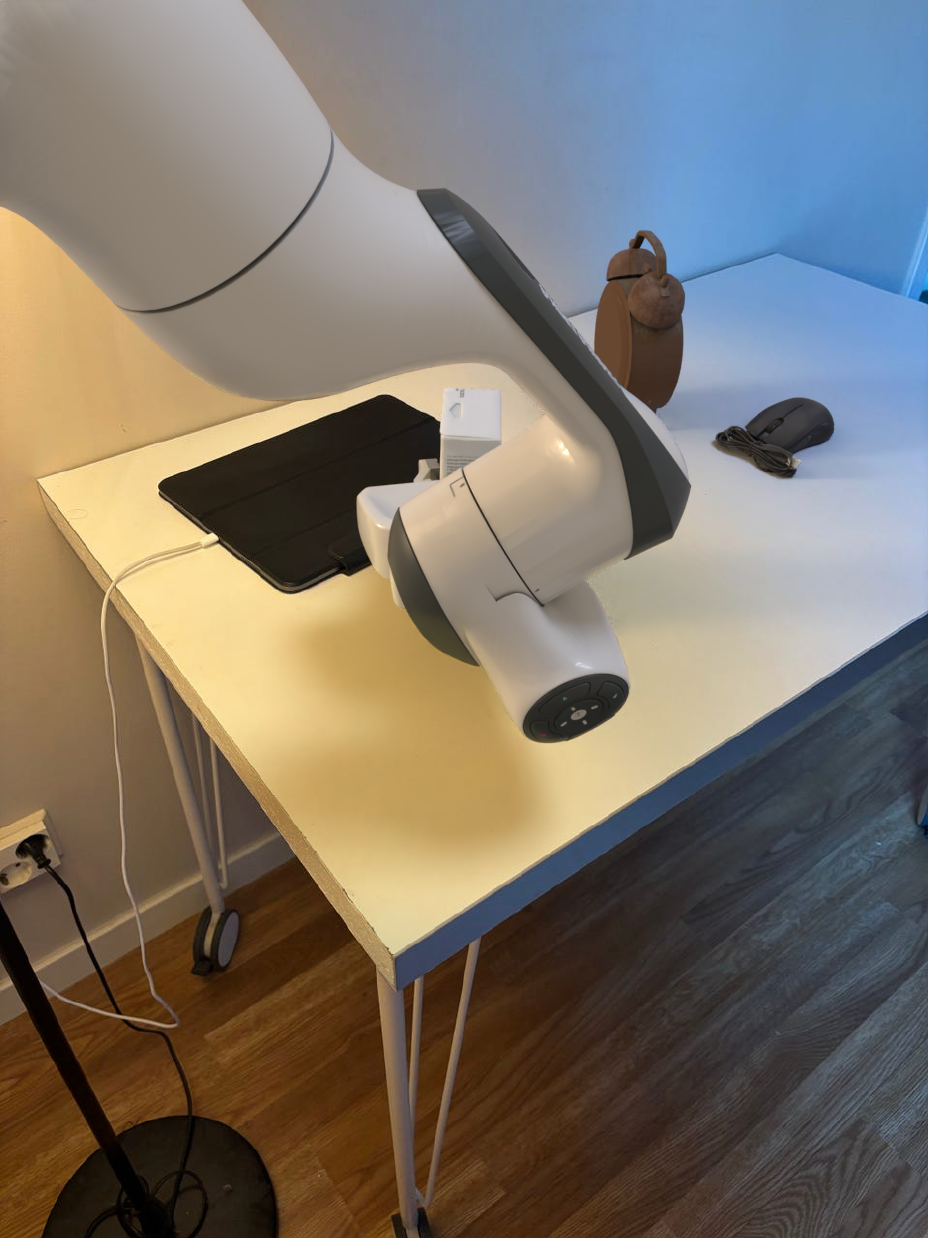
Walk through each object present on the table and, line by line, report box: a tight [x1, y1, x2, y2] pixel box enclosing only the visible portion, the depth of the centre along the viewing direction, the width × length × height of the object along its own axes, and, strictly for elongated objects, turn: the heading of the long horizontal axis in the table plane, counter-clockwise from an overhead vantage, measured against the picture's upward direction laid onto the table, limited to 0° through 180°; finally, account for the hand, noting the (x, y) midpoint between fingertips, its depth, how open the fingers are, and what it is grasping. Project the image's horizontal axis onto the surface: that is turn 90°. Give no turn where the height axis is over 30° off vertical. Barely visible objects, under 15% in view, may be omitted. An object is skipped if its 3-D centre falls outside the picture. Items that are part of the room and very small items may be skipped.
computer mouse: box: [715, 396, 835, 477], centre depth 106 cm, size 10×15×4 cm
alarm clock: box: [593, 229, 686, 415], centre depth 105 cm, size 14×7×20 cm, turn 9°
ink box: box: [439, 386, 502, 480], centre depth 79 cm, size 8×5×12 cm, turn 179°
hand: (467, 462), depth 80 cm, fingers closed on ink box, 5 cm apart
